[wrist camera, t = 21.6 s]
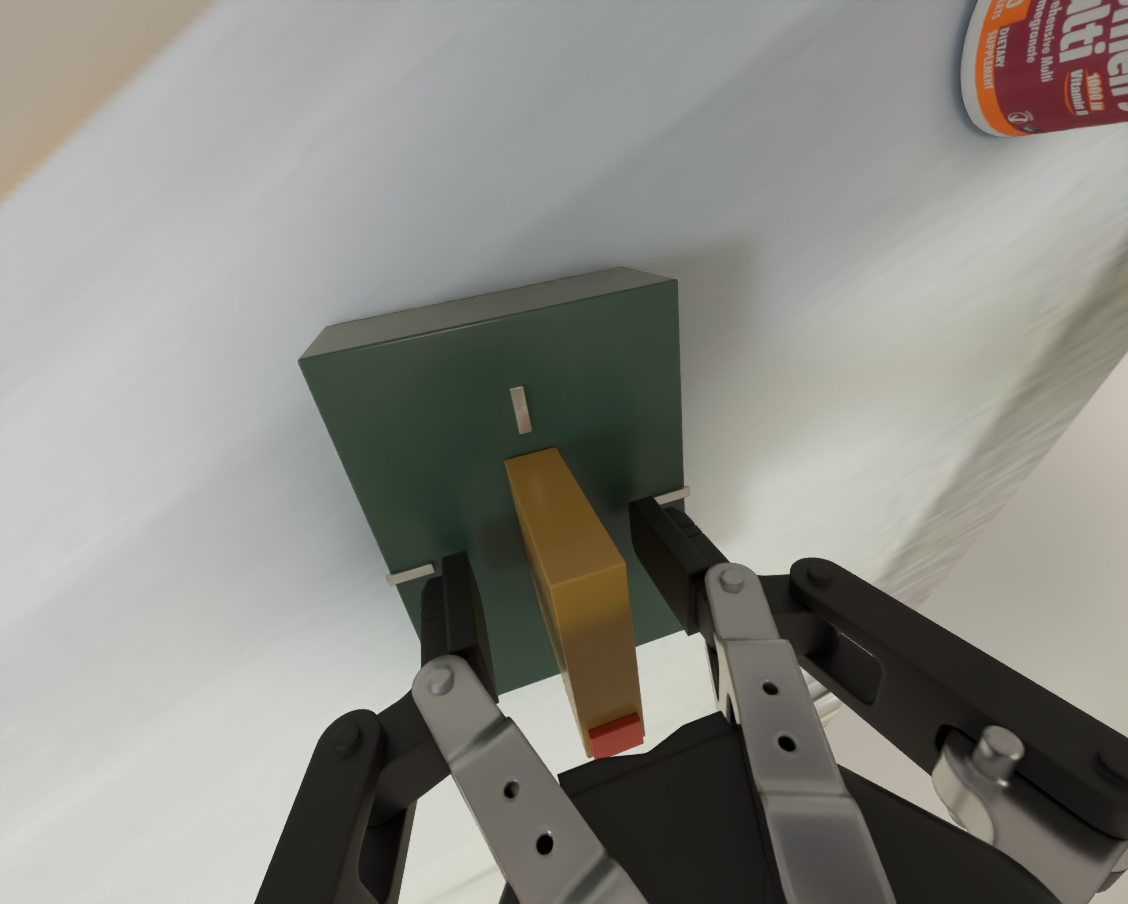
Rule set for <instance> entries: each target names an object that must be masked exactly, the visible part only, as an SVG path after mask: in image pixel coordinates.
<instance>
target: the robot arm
mask: <svg viewBox="0 0 1128 904" xmlns="http://www.w3.org/2000/svg"><path fill="white" fill-rule="evenodd" d="M628 510H629V520H630V530H631V540H632V545H633V548H634V551H635V554H636V556H637V558H638V560H639V561H640V563H641V564H642V566H643V567H644V569H645V570H646V572H647V573H648V575H649V576H650V578H651V580H652V581H653V583H654V584H655V586H656V587H657V589H658V590H659V592H660V593H661V595H662V597H663V598H664V600H665V601H666V603H667V604H668V606H669V607H670V609H671V610H672V612H673V613H674V615H675V617H676V618H677V620H678V621H679V623H680V624H681V626H682V627H683V629H684V630H685V632H686V634H687V635H688V636H690V635H693V634H695V633H698V632H700V633H701V634H702V636H703V637H704V639H705V651H706V656H707V661H708V667H709V672H710V677H711V682H712V688H713V693H714V698H715V703H716V709H717V712H716V713H713V714H710V715H708V716H705V717H703V718H700V719H698V720H695V721H693V722H690V723H687V724H685V725H683V726H681V727H680V728H679V729H677V730H676V731H675V732H674V733H672V734H671V735H670V736H668V737H667V738H666V739H665V740H663V741H662V742H661V743H659V744H658V745H657V746H656V747H654V748H653V749H652V750H650V751H649V752H647V753H643V754H635V755H624V756H614V757H604V758H598V759H596V760H593V761H590V762H588V763H585V764H583V765H580V766H578V767H575V768H573V769H570V770H567V771H565V772H562V773H560V774H557V776H558V779H559V783H560V785H559V784H558V782H557V781H556V779H555V778H554V777H553V775H552V774H551V772H550V771H549V770H548V768H547V767H546V765H545V764H544V763H543V761H542V760H541V758H540V757H539V756H538V754H537V753H536V751H535V750H534V749H533V747H532V746H531V744H530V743H529V742H528V740H527V739H526V737H525V736H524V735H523V733H522V732H521V730H520V729H519V727H518V726H517V725H516V723H515V722H514V721H513V720H512V719H511V718H510V717H509V716H508V717H507V718H506V717H505V716H504V715H503V713H502V712H501V710H500V709H499V708H498V706H497V705H496V704H497V703H499V699H498V693H497V687H496V681H495V675H494V669H493V663H492V657H491V651H490V645H489V639H488V634H487V628H486V622H485V616H484V610H483V605H482V600H481V596H480V592H479V589H478V585H477V582H476V579H475V576H474V573H473V570H472V567H471V564H470V561H469V558H468V555H467V552H466V550H465V551H461V552H458V553H454V554H451V555H448V556H444V557H442V558H441V563H442V575H441V576H437V577H434V578H431V579H428V580H427V582H426V584H425V586H424V588H423V590H422V592H421V669H420V671H419V672H418V673H417V675H416V676H415V678H414V681H413V684H412V688H411V690H410V691H409V692H408V693H407V694H406V695H405V696H404V697H402V698H401V699H400V700H399V701H397V702H396V703H394V704H393V705H391V706H390V707H388V708H387V709H385V710H383V711H382V712H380V713H379V714H377V715H376V714H375V713H374V712H372V711H370V710H366V709H358V710H354V711H351V712H348V713H346V714H344V715H342V716H341V717H339V718H338V719H336V720H335V721H334V722H333V723H332V724H331V725H330V726H329V727H328V728H327V729H326V730H325V731H324V733H323V734H322V736H321V737H320V739H319V741H318V743H317V745H316V748H315V750H314V753H313V755H312V758H311V760H310V763H309V765H308V768H307V771H306V773H305V776H304V778H303V781H302V783H301V786H300V788H299V791H298V793H297V796H296V799H295V801H294V804H293V806H292V809H291V811H290V814H289V816H288V819H287V821H286V824H285V826H284V829H283V832H282V834H281V837H280V839H279V842H278V844H277V847H276V849H275V852H274V854H273V857H272V860H271V862H270V865H269V867H268V870H267V872H266V875H265V877H264V880H263V882H262V885H261V888H260V890H259V893H258V895H257V898H256V900H255V903H254V904H398V899H399V894H400V889H401V883H402V878H403V873H404V868H405V862H406V857H407V852H408V847H409V841H410V836H411V831H412V825H413V820H414V815H415V810H416V804H417V799H419V798H420V797H421V796H422V795H424V794H425V793H426V792H428V791H429V790H430V789H432V788H433V787H434V786H435V785H437V784H438V783H439V782H441V781H442V780H443V779H445V778H446V777H447V776H448V775H450V774H451V775H452V777H453V779H454V781H455V783H456V785H457V787H458V789H459V791H460V793H461V795H462V797H463V799H464V801H465V803H466V804H467V806H468V808H469V810H470V812H471V814H472V816H473V818H474V820H475V822H476V824H477V826H478V828H479V830H480V832H481V834H482V836H483V838H484V840H485V841H486V843H487V845H488V847H489V849H490V851H491V853H492V855H493V857H494V859H495V861H496V863H497V865H498V867H499V869H500V871H501V873H502V875H503V877H504V879H505V881H506V884H505V887H504V890H503V892H502V895H501V898H500V901H499V904H1088V903H1089V902H1090V900H1091V899H1092V898H1093V896H1094V895H1095V893H1100V892H1103V891H1106V890H1107V889H1108V888H1110V887H1111V885H1113V883H1115V882H1116V880H1117V879H1118V878H1119V877H1120V876H1121V875H1122V874H1123V873H1124V872H1125V871H1126V870H1127V869H1128V738H1127V737H1125V736H1124V735H1122V734H1120V733H1119V732H1117V731H1115V730H1114V729H1112V728H1110V727H1109V726H1107V725H1105V724H1104V723H1102V722H1100V721H1099V720H1097V719H1095V718H1094V717H1092V716H1090V715H1089V714H1087V713H1085V712H1084V711H1082V710H1080V709H1079V708H1077V707H1075V706H1074V705H1072V704H1070V703H1068V702H1067V701H1065V700H1063V699H1062V698H1060V697H1058V696H1057V695H1055V694H1053V693H1052V692H1050V691H1048V690H1047V689H1045V688H1043V687H1042V686H1040V685H1038V684H1036V683H1035V682H1033V681H1032V680H1030V679H1028V678H1027V677H1025V676H1023V675H1021V674H1020V673H1018V672H1017V671H1015V670H1013V669H1012V668H1010V667H1008V666H1006V665H1005V664H1003V663H1001V662H1000V661H998V660H996V659H995V658H993V657H991V656H990V655H988V654H986V653H985V652H983V651H981V650H980V649H978V648H976V647H975V646H973V645H971V644H970V643H968V642H966V641H965V640H963V639H961V638H960V637H958V636H956V635H955V634H953V633H951V632H950V631H948V630H946V629H944V628H943V627H941V626H939V625H938V624H936V623H934V622H933V621H931V620H929V619H928V618H926V617H924V616H923V615H921V614H919V613H918V612H916V611H914V610H913V609H911V608H909V607H908V606H906V605H904V604H903V603H901V602H899V601H898V600H896V599H894V598H893V597H891V596H889V595H888V594H886V593H884V592H883V591H881V590H879V589H877V588H876V587H874V586H872V585H871V584H869V583H867V582H866V581H864V580H862V579H861V578H859V577H857V576H856V575H854V574H852V573H851V572H849V571H847V570H846V569H844V568H842V567H841V566H839V565H837V564H835V563H833V562H831V561H829V560H825V559H821V558H803V559H800V560H798V561H796V562H795V563H794V564H793V565H792V566H791V568H790V574H786V575H769V576H761V575H756V574H755V573H754V572H753V571H752V570H751V569H749V568H748V567H746V566H743V565H741V564H737V563H730V562H729V561H728V560H727V558H726V557H725V556H724V555H723V554H722V553H721V552H720V551H719V550H718V549H717V547H716V546H715V545H714V544H713V543H712V542H711V541H710V540H709V539H708V538H707V536H706V535H705V534H704V533H702V531H701V530H700V529H699V528H698V527H697V525H695V524H694V522H693V521H692V520H691V519H690V518H689V517H688V516H687V514H686V513H684V512H682V511H680V510H678V509H676V508H674V507H672V506H670V507H667V508H664V509H663V508H662V507H661V506H660V504H659V503H658V502H657V501H656V500H655V499H654V498H653V497H652V496H649V497H645V498H642V499H638V500H635V501H632V502H629V504H628ZM841 633H843V634H844V635H845V636H847V637H848V638H850V639H851V640H852V641H854V642H855V643H857V644H858V645H859V646H861V647H862V648H864V649H865V650H866V651H868V652H869V653H870V654H869V653H868V652H866V651H865V650H864V649H862V648H861V647H859V646H858V645H857V644H855V643H854V642H852V641H851V640H850V639H848V638H847V637H845V636H844V635H843V634H841ZM871 654H872V655H873V656H874V657H873V656H872V655H871ZM800 666H801V667H802V668H803V669H804V670H805V671H807V672H808V673H809V674H810V675H811V676H813V677H814V678H815V679H816V680H817V681H818V682H820V683H821V684H822V685H823V686H824V687H826V688H827V689H828V690H829V691H830V692H832V693H833V694H834V695H835V696H836V697H837V698H839V699H840V700H841V701H842V702H843V703H845V704H846V705H847V706H848V707H849V708H851V709H852V710H853V711H854V712H855V713H857V714H858V715H859V716H860V717H861V718H862V719H864V720H865V721H866V722H867V723H868V724H870V725H871V726H872V727H873V728H874V729H876V730H877V731H878V732H879V733H880V734H882V735H883V736H884V737H885V738H886V739H888V740H889V741H890V742H891V743H892V744H893V745H895V746H896V747H897V748H898V749H899V750H900V751H902V752H903V753H904V754H905V755H906V756H908V757H909V758H910V759H911V760H912V761H914V762H915V763H916V764H917V765H918V766H920V767H921V768H922V769H923V770H925V772H927V773H928V774H929V775H930V776H931V777H932V782H933V786H934V788H935V791H936V793H937V795H938V796H939V798H940V800H941V801H942V802H943V804H944V805H945V806H946V807H947V810H948V813H949V815H950V816H951V818H952V819H953V820H954V821H955V822H956V823H957V824H958V825H959V826H961V827H962V828H964V829H966V830H967V832H966V831H964V830H962V829H960V828H958V827H956V826H954V825H952V824H951V823H949V822H947V821H945V820H943V819H941V818H939V817H937V816H935V815H934V814H932V813H930V812H928V811H926V810H924V809H922V808H920V807H918V806H917V805H915V804H913V803H911V802H909V801H907V800H905V799H903V798H901V797H900V796H898V795H896V794H894V793H892V792H890V791H888V790H886V789H884V788H883V787H881V786H878V785H877V784H875V783H873V782H871V781H869V780H867V779H865V778H864V777H862V776H860V775H858V774H856V773H854V772H852V771H850V770H848V769H847V768H845V767H843V766H840V765H839V764H837V763H836V761H835V758H834V756H833V754H832V751H831V748H830V745H829V743H828V740H827V737H826V735H825V732H824V729H823V727H822V724H821V722H820V719H819V716H818V714H817V711H816V708H815V706H814V703H813V700H812V698H811V695H810V693H809V690H808V687H807V685H806V682H805V679H804V677H803V674H802V671H801V669H800Z"/></svg>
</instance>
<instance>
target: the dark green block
mask: <svg viewBox="0 0 1128 904" xmlns="http://www.w3.org/2000/svg"><path fill="white" fill-rule="evenodd" d="M298 364H299V366H300V368H301V371H302V373H303V375H304V378H305V380H306V382H307V384H308V387H309V389H310V391H311V394H312V396H313V398H314V400H315V403H316V405H317V407H318V409H319V412H320V414H321V416H322V419H323V421H324V423H325V425H326V428H327V430H328V432H329V435H330V437H331V439H332V441H333V444H334V446H335V448H336V451H337V453H338V455H339V457H340V460H341V462H342V464H343V467H344V469H345V471H346V473H347V476H348V478H349V480H350V482H351V485H352V487H353V489H354V492H355V494H356V496H357V498H358V501H359V503H360V505H361V508H362V510H363V512H364V514H365V517H366V519H367V521H368V524H369V526H370V528H371V530H372V533H373V535H374V537H375V540H376V542H377V544H378V546H379V549H380V551H381V553H382V555H383V558H384V560H385V562H386V565H387V567H388V569H389V571H390V573H389V574H386V579H387V581H388V583H389V585H390V586H391V585H396V587H397V590H398V592H399V594H400V597H401V599H402V601H403V603H404V606H405V608H406V610H407V613H408V615H409V617H410V619H411V622H412V624H413V626H414V628H415V631H416V633H417V635H418V638H419V640H420V642H421V592H422V590H423V588H424V586H425V584H426V582H427V580H428V579H431V578H434V577H437V576H441V575H442V563H441V558H442V557H444V556H448V555H451V554H454V553H458V552H461V551H465V550H466V552H467V555H468V558H469V561H470V564H471V567H472V570H473V573H474V576H475V579H476V582H477V585H478V589H479V592H480V596H481V600H482V605H483V610H484V616H485V622H486V628H487V634H488V639H489V645H490V651H491V657H492V663H493V669H494V675H495V681H496V687H497V693H498V695H501V694H504V693H507V692H509V691H512V690H515V689H518V688H521V687H523V686H526V685H529V684H532V683H535V682H538V681H540V680H543V679H546V678H549V677H552V676H555V675H557V674H560V670H559V667H558V664H557V660H556V657H555V654H554V651H553V648H552V645H551V641H550V638H549V635H548V632H547V629H546V625H545V622H544V619H543V616H542V613H541V610H540V606H539V603H538V599H537V594H536V590H535V586H534V582H533V578H532V574H531V570H530V566H529V562H528V558H527V554H526V549H525V545H524V541H523V537H522V533H521V529H520V525H519V521H518V517H517V513H516V508H515V504H514V500H513V496H512V492H511V488H510V484H509V480H508V476H507V472H506V468H505V463H504V461H505V460H508V459H511V458H515V457H519V456H523V455H526V454H530V453H534V452H538V451H541V450H545V449H549V448H553V447H556V448H557V450H558V452H559V453H560V455H561V457H562V458H563V460H564V462H565V463H566V465H567V467H568V468H569V470H570V472H571V473H572V475H573V477H574V478H575V480H576V481H577V483H578V485H579V486H580V488H581V490H582V491H583V493H584V495H585V496H586V498H587V500H588V501H589V503H590V505H591V506H592V508H593V510H594V511H595V513H596V515H597V516H598V518H599V520H600V521H601V523H602V524H603V526H604V528H605V529H606V531H607V533H608V534H609V536H610V538H611V539H612V541H613V543H614V544H615V546H616V548H617V549H618V551H619V553H620V554H621V556H622V558H623V559H624V561H625V562H626V570H627V578H628V587H629V596H630V605H631V614H632V623H633V632H634V641H635V647H637V646H639V645H642V644H645V643H648V642H651V641H654V640H656V639H659V638H662V637H665V636H668V635H671V634H673V633H676V632H679V631H682V630H684V629H683V627H682V626H681V624H680V623H679V621H678V620H677V618H676V617H675V615H674V613H673V612H672V610H671V609H670V607H669V606H668V604H667V603H666V601H665V600H664V598H663V597H662V595H661V593H660V592H659V590H658V589H657V587H656V586H655V584H654V583H653V581H652V580H651V578H650V576H649V575H648V573H647V572H646V570H645V569H644V567H643V566H642V564H641V563H640V561H639V560H638V558H637V556H636V554H635V551H634V548H633V545H632V540H631V530H630V520H629V510H628V504H629V502H632V501H635V500H638V499H642V498H645V497H649V496H652V497H653V498H654V499H655V500H656V501H657V502H658V503H659V504H660V506H661V507H662V508H663V509H664V508H667V507H670V506H672V507H674V508H676V509H678V510H680V511H682V512H684V513H685V507H684V497H687V496H690V487H689V486H688V485H687V486H684V474H683V441H682V408H681V376H680V343H679V310H678V281H677V279H673V278H668V277H664V276H660V275H656V274H651V273H647V272H643V271H638V270H634V269H630V268H626V267H618V268H613V269H608V270H603V271H598V272H593V273H588V274H583V275H578V276H574V277H569V278H564V279H559V280H554V281H549V282H544V283H539V284H534V285H529V286H524V287H519V288H514V289H510V290H505V291H500V292H495V293H490V294H485V295H480V296H475V297H470V298H465V299H460V300H455V301H450V302H445V303H441V304H436V305H431V306H426V307H421V308H416V309H411V310H406V311H401V312H396V313H391V314H386V315H381V316H377V317H372V318H367V319H362V320H357V321H352V322H347V323H342V324H337V325H332V326H327V327H326V328H325V329H324V330H323V331H322V332H321V333H320V334H319V336H318V337H317V338H316V339H315V340H314V342H313V343H312V344H311V345H310V346H309V348H308V349H307V350H306V351H305V352H304V353H303V355H302V356H301V357H300V358H299V359H298Z"/></svg>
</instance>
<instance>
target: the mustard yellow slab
mask: <svg viewBox="0 0 1128 904" xmlns="http://www.w3.org/2000/svg"><path fill="white" fill-rule="evenodd" d="M504 463H505V468H506V472H507V476H508V480H509V484H510V488H511V492H512V496H513V500H514V504H515V508H516V513H517V517H518V521H519V525H520V529H521V533H522V537H523V541H524V545H525V549H526V554H527V558H528V562H529V566H530V570H531V574H532V578H533V582H534V586H535V590H536V594H537V599H538V603H539V606H540V610H541V613H542V616H543V619H544V622H545V625H546V629H547V632H548V635H549V638H550V641H551V645H552V648H553V651H554V654H555V657H556V660H557V664H558V667H559V670H560V673H561V676H562V679H563V683H564V686H565V689H566V692H567V695H568V699H569V702H570V705H571V708H572V711H573V714H574V718H575V721H576V724H577V727H578V730H579V733H580V737H581V740H582V743H583V746H584V749H585V753H586V756H587V757H588V758H591V757H594V760H596V759H598V758H604V757H610V756H613V755H616V754H618V753H621V752H623V751H626V750H628V749H631V748H633V747H636V746H638V745H641V744H643V743H644V742H643V737H644V736H645V730H644V721H643V712H642V703H641V694H640V685H639V676H638V667H637V659H636V650H635V641H634V632H633V623H632V614H631V605H630V596H629V587H628V578H627V570H626V562H625V561H624V559H623V558H622V556H621V554H620V553H619V551H618V549H617V548H616V546H615V544H614V543H613V541H612V539H611V538H610V536H609V534H608V533H607V531H606V529H605V528H604V526H603V524H602V523H601V521H600V520H599V518H598V516H597V515H596V513H595V511H594V510H593V508H592V506H591V505H590V503H589V501H588V500H587V498H586V496H585V495H584V493H583V491H582V490H581V488H580V486H579V485H578V483H577V481H576V480H575V478H574V477H573V475H572V473H571V472H570V470H569V468H568V467H567V465H566V463H565V462H564V460H563V458H562V457H561V455H560V453H559V452H558V450H557V448H556V447H553V448H549V449H545V450H541V451H538V452H534V453H530V454H526V455H523V456H519V457H515V458H511V459H508V460H505V461H504Z"/></svg>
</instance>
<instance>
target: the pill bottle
mask: <svg viewBox="0 0 1128 904" xmlns="http://www.w3.org/2000/svg"><path fill="white" fill-rule="evenodd" d="M961 91H962V97H963V101H964V105H965V108H966V110H967V113H968V115H969V117H970V119H971V121H972V122H973V123H974V124H975V125H976V126H977V127H978V128H980V129H981V130H983V131H984V132H986V133H989V134H991V135H995V136H1000V137H1014V136H1024V135H1032V134H1039V133H1048V132H1055V131H1063V130H1070V129H1077V128H1085V127H1093V126H1101V125H1109V124H1116V123H1123V122H1128V0H978V1H977V3H976V6H975V9H974V11H973V14H972V17H971V20H970V23H969V27H968V30H967V34H966V38H965V42H964V47H963V53H962V61H961Z"/></svg>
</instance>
